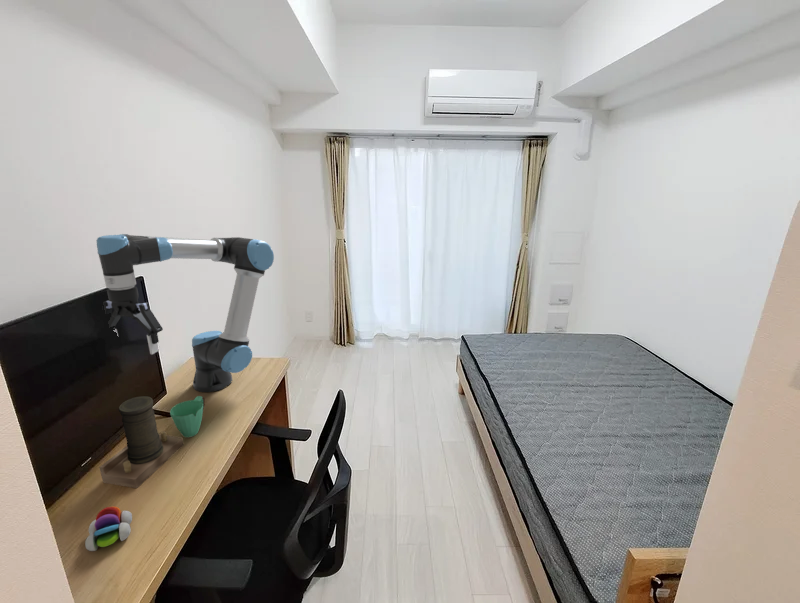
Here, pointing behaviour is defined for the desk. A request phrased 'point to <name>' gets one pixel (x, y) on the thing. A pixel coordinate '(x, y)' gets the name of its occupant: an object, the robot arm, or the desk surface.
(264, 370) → the desk surface
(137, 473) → the ledge
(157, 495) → the desk surface
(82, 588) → the desk surface
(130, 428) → the container
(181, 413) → the mug
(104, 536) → the rainbow striped lobed toy
